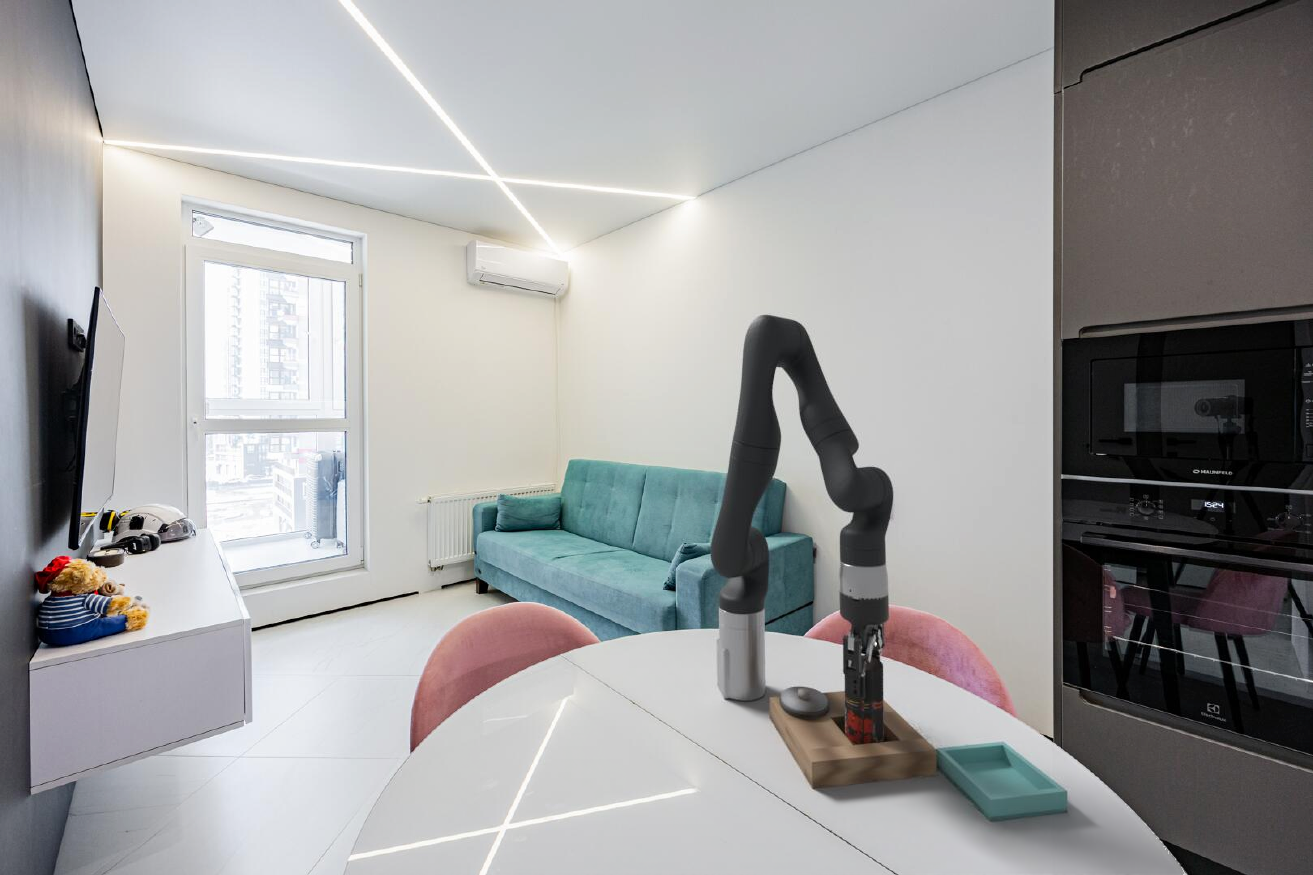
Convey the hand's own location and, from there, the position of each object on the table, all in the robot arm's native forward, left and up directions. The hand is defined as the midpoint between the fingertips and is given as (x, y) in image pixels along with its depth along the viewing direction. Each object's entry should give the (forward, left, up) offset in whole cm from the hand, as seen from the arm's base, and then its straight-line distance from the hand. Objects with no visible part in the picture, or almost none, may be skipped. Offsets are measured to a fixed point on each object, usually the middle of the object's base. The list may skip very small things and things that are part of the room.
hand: (865, 687), depth 88 cm
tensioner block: (-2, +3, -11) cm, 11 cm away
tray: (+15, -11, -11) cm, 21 cm away
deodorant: (0, 0, -11) cm, 11 cm away
